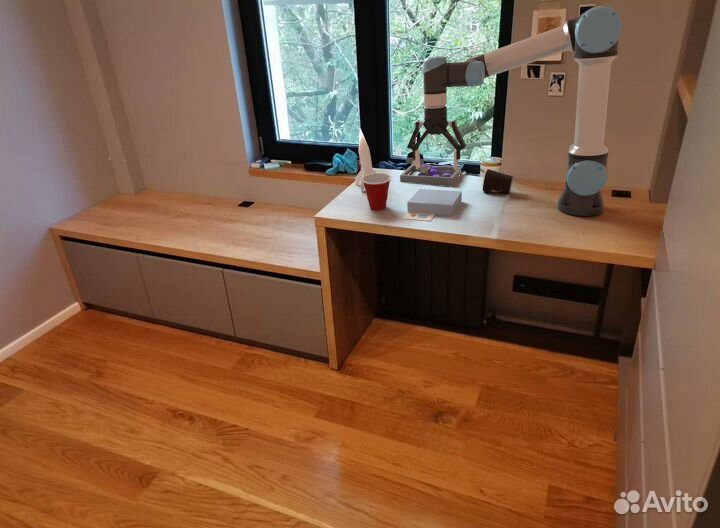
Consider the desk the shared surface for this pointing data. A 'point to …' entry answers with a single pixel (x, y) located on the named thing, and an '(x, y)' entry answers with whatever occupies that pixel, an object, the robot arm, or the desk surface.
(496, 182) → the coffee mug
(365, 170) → the rocket
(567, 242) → the desk surface
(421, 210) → the base brick
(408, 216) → the page
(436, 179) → the tray
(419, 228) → the desk surface
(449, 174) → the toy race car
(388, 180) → the plastic cup
